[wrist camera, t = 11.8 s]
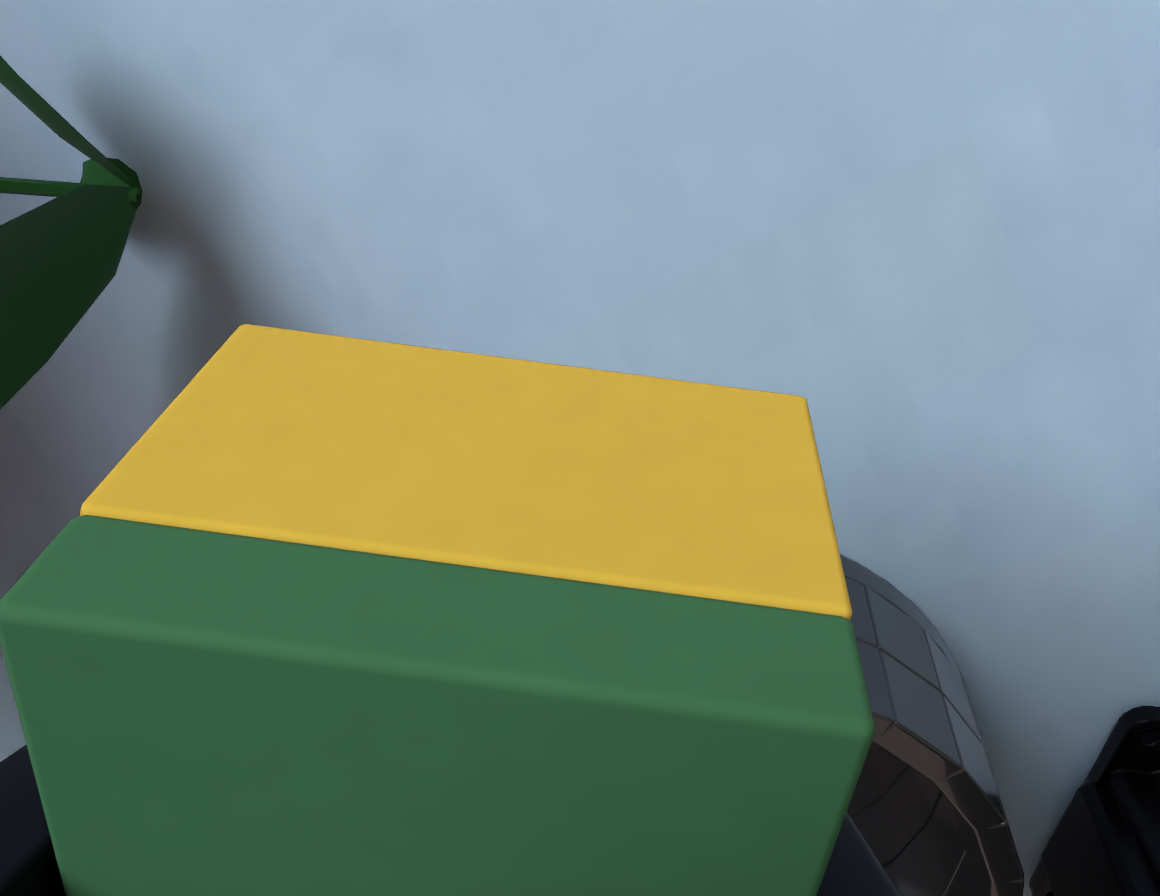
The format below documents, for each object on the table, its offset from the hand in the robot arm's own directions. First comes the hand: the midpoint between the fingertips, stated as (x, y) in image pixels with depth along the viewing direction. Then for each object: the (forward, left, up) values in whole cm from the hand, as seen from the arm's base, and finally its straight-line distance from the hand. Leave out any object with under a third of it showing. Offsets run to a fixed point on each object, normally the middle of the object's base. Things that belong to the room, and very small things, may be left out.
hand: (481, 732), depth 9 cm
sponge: (0, 0, -1) cm, 1 cm away
